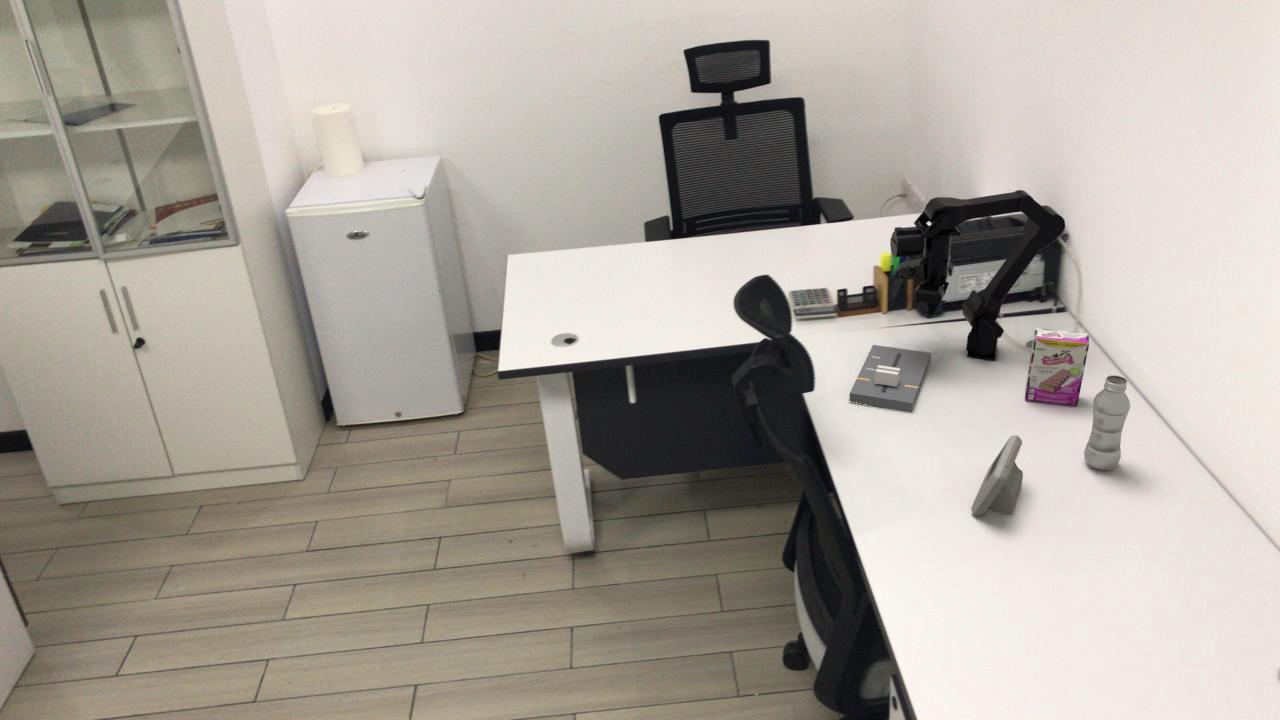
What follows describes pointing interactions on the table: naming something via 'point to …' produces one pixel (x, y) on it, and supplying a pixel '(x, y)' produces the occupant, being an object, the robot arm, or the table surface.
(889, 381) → the fader knob
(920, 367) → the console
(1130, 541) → the table surface
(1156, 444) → the table surface
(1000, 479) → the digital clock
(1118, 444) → the plastic bottle
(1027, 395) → the candy bar box
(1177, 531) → the table surface
